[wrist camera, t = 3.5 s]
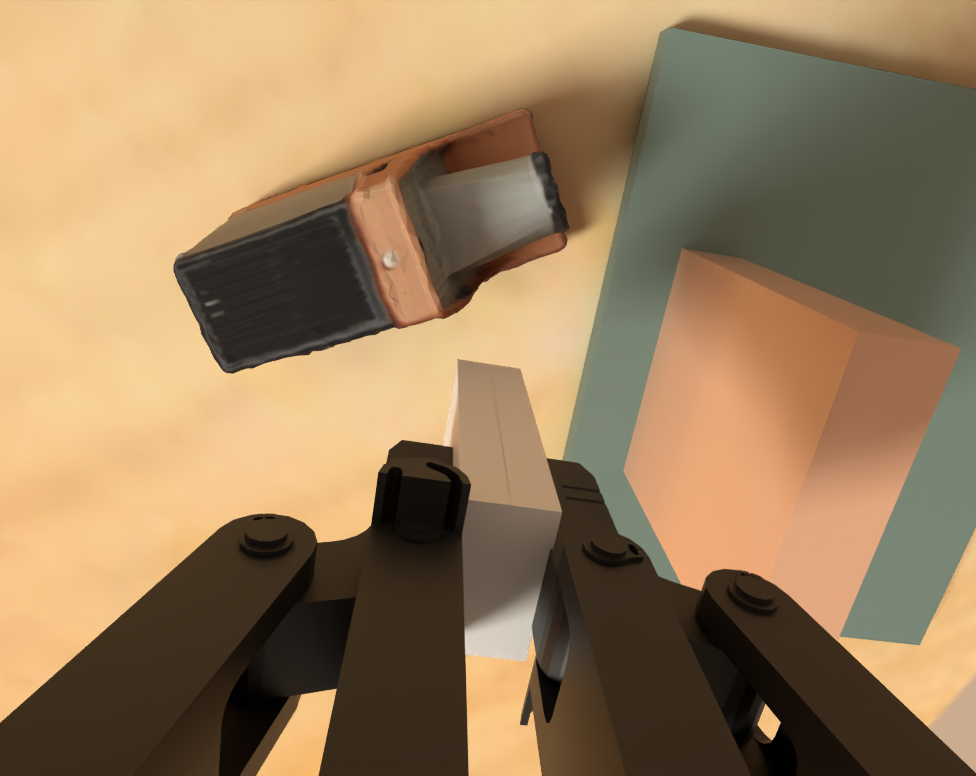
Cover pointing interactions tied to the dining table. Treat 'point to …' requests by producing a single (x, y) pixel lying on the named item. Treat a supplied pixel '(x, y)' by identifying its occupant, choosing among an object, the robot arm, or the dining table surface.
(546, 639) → the robot arm
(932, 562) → the mat
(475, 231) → the electronic device
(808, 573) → the tile
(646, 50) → the dining table surface
